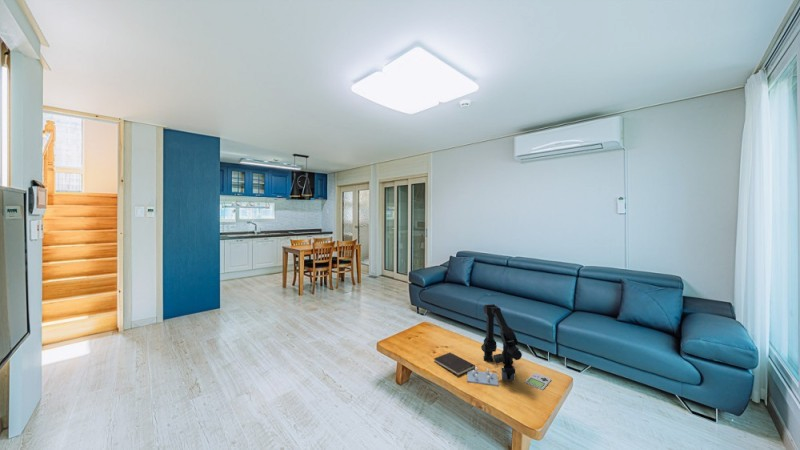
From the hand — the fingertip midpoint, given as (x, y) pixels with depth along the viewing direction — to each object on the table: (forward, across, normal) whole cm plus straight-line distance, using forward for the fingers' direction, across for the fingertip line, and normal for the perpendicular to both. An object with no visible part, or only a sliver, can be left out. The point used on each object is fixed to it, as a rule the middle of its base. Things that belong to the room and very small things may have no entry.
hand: (507, 376), depth 169 cm
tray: (+3, +1, -15) cm, 15 cm away
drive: (+1, 0, 0) cm, 1 cm away
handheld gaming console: (+3, -4, +18) cm, 19 cm away
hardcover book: (+3, -10, -33) cm, 35 cm away
